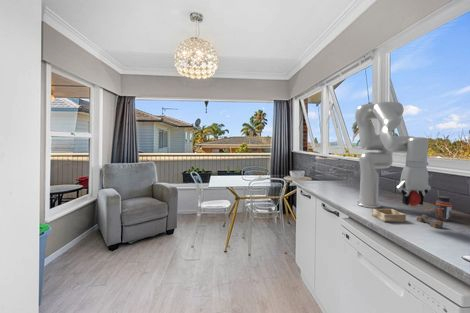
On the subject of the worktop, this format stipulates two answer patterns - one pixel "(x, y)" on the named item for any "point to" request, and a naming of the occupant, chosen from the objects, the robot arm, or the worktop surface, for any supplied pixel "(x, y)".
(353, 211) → the worktop surface
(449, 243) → the worktop surface
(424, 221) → the clip
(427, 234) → the worktop surface
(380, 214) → the wooden tray
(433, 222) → the gray square bar
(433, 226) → the clip
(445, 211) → the supplement bottle
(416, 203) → the onion
